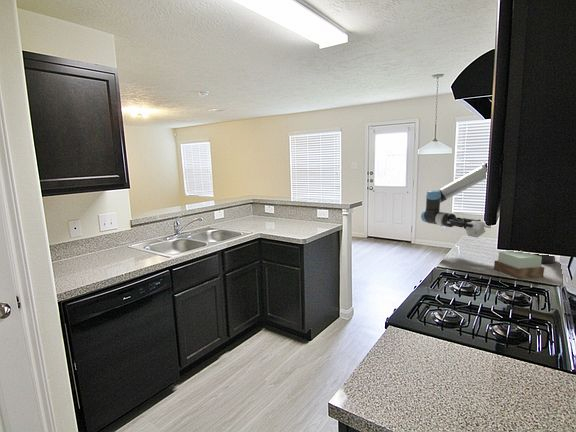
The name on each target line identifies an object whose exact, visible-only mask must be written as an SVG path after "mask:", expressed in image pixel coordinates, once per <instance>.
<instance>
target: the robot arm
mask: <svg viewBox="0 0 576 432" xmlns="http://www.w3.org/2000/svg"><path fill="white" fill-rule="evenodd" d="M486 172H487V160H485V161H484V162H482V164H481V166H479V167H477V168H476V169H474V170H472V171H470V172H468V173H467V174H465V175H463V176H461V177H459V178H457V179H455V180H453V181H452V182H450V183H449V184H446V185H445V186H443V187H441V188H440V189H438V190H428V191H427V192H426V196H425V197H426V200H425V201H426V202H425V203H426V205H425V210H423V211H422V212H421V216H420V218H421V221H422V222H424V223H427V224H432V225H436V226H437V225H438V226H440V227H446V228H453V227H457V228H461V229H462V228H463V229H464V230H466V227H467V228H469V227H471V228H472V229H478V230H480V224H476V223H470V222H472V221H477V222H482V223H483V226H484V228H485V229H491V228H492V225H491V226H486V225H485V223H484V222H485V221H483V220H481V219H473V218H466V217H463V218H461V217H457V215H456V214H454V213H448V212H443V211H440V210H441V209H440V208H441V203H443V202H445V201H447V200H448V199H450V198H452V197H455V196H456V195H458V194H459V193H462V192H464V191H466V190H467V189H469V188H472V187H474V186H475V185H477V184H478V183H481V182H483V181H485V180H486V179H487V178H486ZM534 255H537V256H541V257H542V260H541V264H554V262H555V263H556V256H555V255H554V256H549V255H539V254H534Z"/></svg>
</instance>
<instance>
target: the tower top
mask: <svg viewBox="0 0 576 432" xmlns="http://www.w3.org/2000/svg"><path fill="white" fill-rule="evenodd" d="M514 251H515V250H505V251H503V250H502V251H501V250H500V251H498V259H497V260H498V261H499V262H502V263H504V264H507V265H510V266H513V267H516V268H519V269H520V268H535V267H542V263H541V260H542V257H541V256H537V255H534V254H530V253H523V252H514Z"/></svg>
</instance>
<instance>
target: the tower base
mask: <svg viewBox="0 0 576 432" xmlns="http://www.w3.org/2000/svg"><path fill="white" fill-rule="evenodd" d="M493 270H495V271H497V272H499V273H501V274H502V273H503V274H505V275H508V276H510V277H512V278H513V279H514V278H515V279H517V280H518V279H530V278H531V279H532V278H543V277H544V273H545V266H544V267H543V266H541V267H535V268H520V269H519V268H516V267H513V266H510V265H507V264H504V263H502V262H499V261H498V259H497V260H494V263H493Z"/></svg>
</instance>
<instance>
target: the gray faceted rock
mask: <svg viewBox="0 0 576 432" xmlns="http://www.w3.org/2000/svg"><path fill="white" fill-rule="evenodd" d="M470 223H476V224H480V230H478V229H472V228H471V227H469V228H467V227H466V229H465V232H466V233H467V236H468V237H471V238H477V239H478V238H479V237H480V236H482V235H483V234H485V233H486V228H485V227H484V226H483V223H482V222H477V221H472V222H470Z"/></svg>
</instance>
